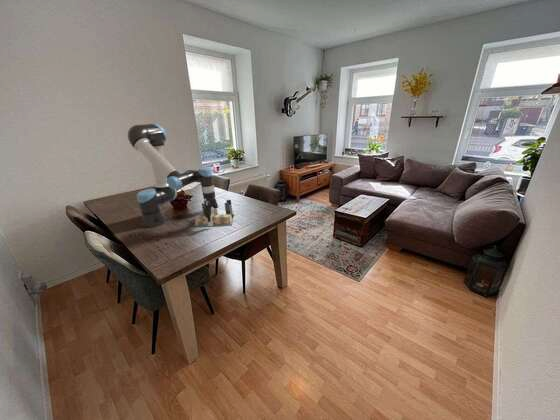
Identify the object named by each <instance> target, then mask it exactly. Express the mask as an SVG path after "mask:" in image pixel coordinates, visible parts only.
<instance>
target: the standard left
mask: <svg viewBox="0 0 560 420" xmlns="http://www.w3.org/2000/svg"><path fill="white" fill-rule="evenodd" d="M204 202H206V201H204ZM204 202H203V203H201V208H202V214H203V215H205V203H204Z"/></svg>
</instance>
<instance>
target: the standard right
mask: <svg viewBox="0 0 560 420" xmlns="http://www.w3.org/2000/svg"><path fill="white" fill-rule="evenodd" d="M232 206H233V205H232V199H226V202H224V209H225V215H229V214H231V217H232V220H234V217H235V214H233V207H232Z"/></svg>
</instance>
